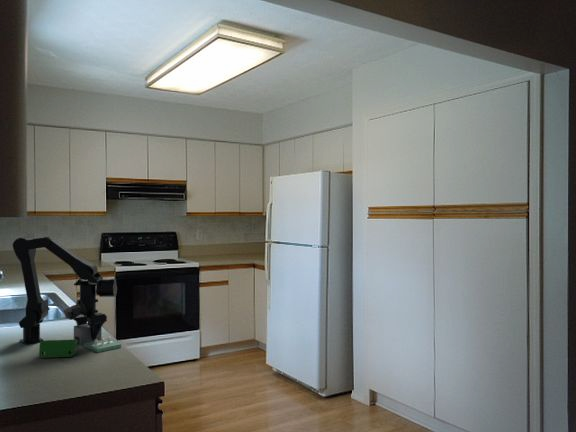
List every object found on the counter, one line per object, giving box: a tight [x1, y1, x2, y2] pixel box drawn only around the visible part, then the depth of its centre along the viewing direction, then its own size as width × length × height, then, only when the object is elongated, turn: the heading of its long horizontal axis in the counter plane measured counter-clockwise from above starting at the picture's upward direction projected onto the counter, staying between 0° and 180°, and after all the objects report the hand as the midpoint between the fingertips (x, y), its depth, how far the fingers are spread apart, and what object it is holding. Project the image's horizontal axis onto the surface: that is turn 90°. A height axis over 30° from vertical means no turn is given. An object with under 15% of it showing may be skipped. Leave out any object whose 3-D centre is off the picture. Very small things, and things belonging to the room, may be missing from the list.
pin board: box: [83, 336, 122, 353], centre depth 183 cm, size 10×9×3 cm
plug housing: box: [73, 324, 103, 346], centre depth 190 cm, size 6×8×6 cm
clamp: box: [38, 339, 79, 359], centre depth 172 cm, size 12×6×9 cm, turn 95°
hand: (87, 337), depth 190 cm, fingers open, 9 cm apart
